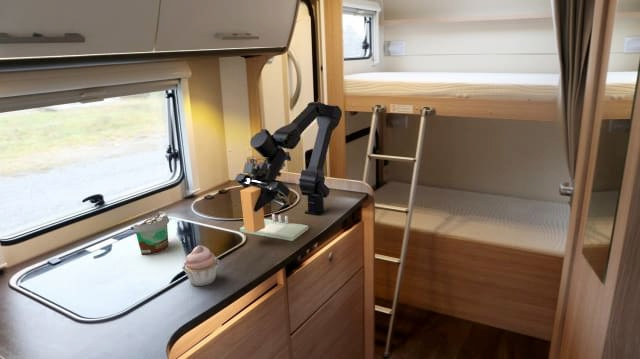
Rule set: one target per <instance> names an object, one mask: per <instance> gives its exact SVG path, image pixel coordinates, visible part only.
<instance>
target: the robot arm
mask: <svg viewBox="0 0 640 359" xmlns="http://www.w3.org/2000/svg"><path fill="white" fill-rule="evenodd" d="M342 111H343V110H342V109H341V108H340V106H339V105H332V104H331V105H330V104H325V103H323V102H320V101H319V102H318V101H311V102H309V103H308V104H307V106H306V107H305V108H304V109H303V110H302V111H300V113H299V114H298V115H297V116H296V117H294V119H293V120H292V121H291V122H290V123H288V124H287V125H283V126H281V127H279V128H278V129H276V130H275V131H274V132H273V134H271V133H270V131H269V130H268V129H266V128H265V129H264V128H261V130H260V131H259V132H257V133H255V134H254V135H253V136H252V137H251V139H250V141H249V143H250V144H249V145H250V146H251V147H252V149H253V150H255V151H256V152H257V153H258V154H259V155H260V156H261V157H262V158H265V159H263V162H261V161H260V162H258V164H256V163H251V162H250V163H249V162H245V163H244V166H243V171H242V173H241V172H240V173H238V174H237V175H236V176H235V178H234V181H235V182H236V183H238V184H239V185H240V186H242V187H243V189H245V188H248V187H251V186H252V187H257V188H261V194H260V196H259V198H258V200H257V203H256V205H255V207H254V211H255V212H257V211H258V210H260V209H261V208H262V207H263V208H264V207H265V206H266V205H267V204H269V203H271V202H272V201H274V200H275V199H278V198H279V197H281V198H285V199H287V198H288V197H289V195H290V187H289V186H287V185H286V184H285V183H284V182H282V181H281V180H276V179H277V177H279V178H280V177H281V176H282V173H281V172H280V171H281V169H282V167H283V166H284V163H285V162H286V161H288V162H291V161H292V159H291V158H292V157H291V155H290V152H289V151H286V150H285V149H287V150H294V149H296V147H297V145H299V143H300V142H301V138H302V136H301V135H302V134H303V133H304V131H305V130H307V128H308V127H309V126H310V125H311V124H313V122H314V121H315V120H316V123H317V127H318V129H317V133H316V135H315V136H316V137H315V141H314V144H313V149H312V152H311V153H312V154H311V155H310V156H311V157H310V161H309V165H308V167H307V168H306V169H301V172H300V177H299V179H298V181H299V182H298V186H299V189H300V192H301V195H302V196H305V197H306V196H307V197H306V198H307V209H306V210H305V211H304V214H306V215H307V214H308V215H315V216H322V215H323V214H325V213H326V212H327V211H329V208H328V207H325V198H328V196H330V188H329V187H328V185H326V184H325V181H326V177H325V173H324V171H323V170H324V165H325V161H326V159H327V153H328V149H329V146H330V142H331V138H332V134H333V131H334V130H335V129H336V128H337V127H338V126H339V124H340V122H341V119H342V115H343V112H342ZM246 173H247V174H246ZM278 195H279V196H278Z"/></svg>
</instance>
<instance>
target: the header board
mask: <svg viewBox="0 0 640 359" xmlns="http://www.w3.org/2000/svg"><path fill="white" fill-rule="evenodd" d="M271 217H272V218H271V219H270V218H269V219H268V218H264V222H265V228H264V229H261V230H259V231H257V232H255V233H254V232H250V231H247V230H244V225H243V226H241V227H239V232H241V233H245V234H252V235H256V236H264V237H268V238H272V239H273V238H274V239H279V240H285V241H290V242H293V241H295V240H296V239H298V237H300V236H301V235H302V234H304V233H306V231H308V230H309V225H307V224H306V225H305V224H301V223H292V222H289V217H288V215H285V216H284V221H283V219H282V217H283V216H282V214H279V215H278V220H276V214H275V213H273V214H272V213H271Z"/></svg>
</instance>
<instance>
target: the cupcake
mask: <svg viewBox="0 0 640 359" xmlns="http://www.w3.org/2000/svg"><path fill="white" fill-rule="evenodd" d="M219 262H220V259H217V257H216V256H215V254H214V253H213V252H211V250H210V249H209V248H208V247H206V246H203V245H198V246H195V247H194V248H193V249H192V251H191V253H190V252H189V254H187V256H186V257H185V262H184V263H183V266H182V267H181V269H182V270H183V271H184V272H185V274H186V276H187V278H188V280H189V282H190V284H191V285H192V286H194V287H203V286H204V287H205V286H207V285H210V284H212V283H214V281H215V280H216V277H217V276H216V275H217V268H218V267H219Z"/></svg>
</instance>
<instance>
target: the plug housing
mask: <svg viewBox="0 0 640 359" xmlns="http://www.w3.org/2000/svg"><path fill="white" fill-rule="evenodd" d="M239 191H240V201H241V209H242V210H241V211H242V219H243V226H244V230H247V231H250V232H254V233H255V232H257V231H259V230H261V229H264V228H265V222H264V219H265V212H264V206H263V207H262V208H261V209H260V210H258V211H257V212H255V211H254V207H255V205H256V203H257V200H258V198H259V196H260V194H261V188H260V187H252V186H251V187H248V188H245V189H244V188H243V189H241V190H239Z"/></svg>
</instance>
